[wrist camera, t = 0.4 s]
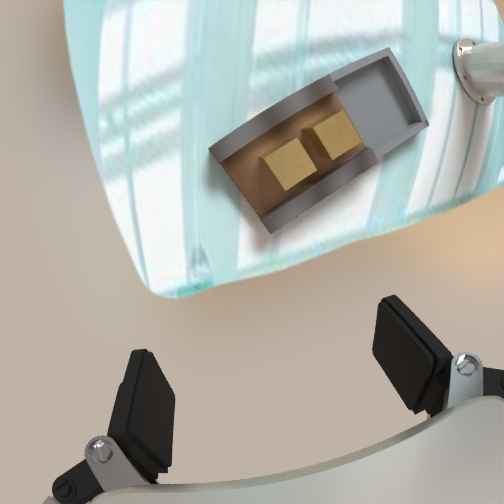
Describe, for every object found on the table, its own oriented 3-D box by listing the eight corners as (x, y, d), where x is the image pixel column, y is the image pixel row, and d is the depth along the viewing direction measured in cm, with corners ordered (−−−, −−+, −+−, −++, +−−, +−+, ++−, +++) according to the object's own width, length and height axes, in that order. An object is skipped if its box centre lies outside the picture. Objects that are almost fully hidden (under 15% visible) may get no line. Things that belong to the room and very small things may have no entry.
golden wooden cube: (288, 137, 29) (297, 137, 26) (306, 165, 31) (317, 170, 27) (258, 155, 30) (263, 158, 26) (278, 184, 31) (285, 191, 28)
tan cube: (329, 112, 28) (343, 109, 25) (346, 140, 30) (361, 142, 26) (302, 128, 29) (312, 127, 25) (320, 156, 30) (332, 160, 27)
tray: (379, 50, 27) (388, 47, 24) (418, 124, 31) (429, 125, 29) (319, 79, 28) (325, 75, 26) (365, 158, 33) (374, 160, 31)
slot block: (319, 79, 28) (329, 74, 25) (365, 158, 33) (378, 161, 30) (209, 147, 31) (208, 148, 28) (266, 224, 35) (270, 234, 32)
